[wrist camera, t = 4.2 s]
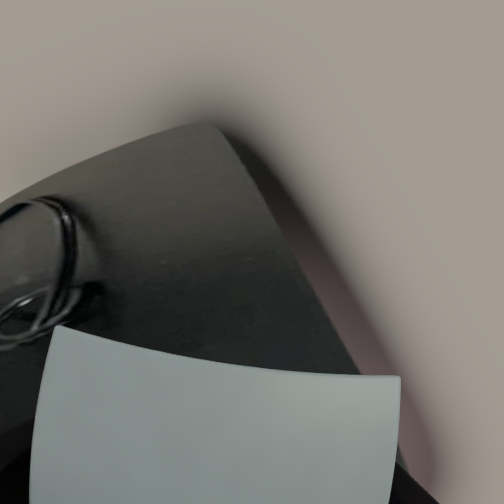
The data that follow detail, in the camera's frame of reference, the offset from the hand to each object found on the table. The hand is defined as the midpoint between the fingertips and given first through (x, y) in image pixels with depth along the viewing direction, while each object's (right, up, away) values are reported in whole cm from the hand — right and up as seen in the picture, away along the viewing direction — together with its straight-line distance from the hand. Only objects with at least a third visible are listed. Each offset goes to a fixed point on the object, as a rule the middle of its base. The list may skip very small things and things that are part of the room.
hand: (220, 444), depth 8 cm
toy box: (-1, -4, +5) cm, 7 cm away
